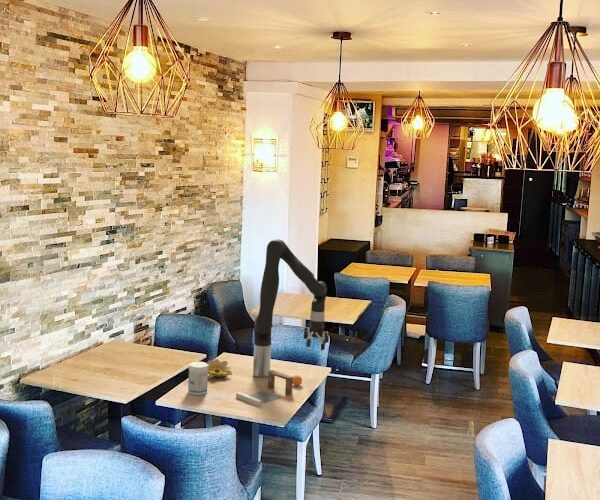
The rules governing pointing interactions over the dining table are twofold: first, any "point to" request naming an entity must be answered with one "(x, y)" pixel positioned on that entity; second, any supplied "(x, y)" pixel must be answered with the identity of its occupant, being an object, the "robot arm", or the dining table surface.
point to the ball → (297, 380)
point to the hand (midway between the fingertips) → (315, 348)
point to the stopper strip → (249, 399)
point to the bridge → (274, 373)
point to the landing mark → (264, 396)
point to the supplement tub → (198, 378)
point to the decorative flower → (218, 368)
